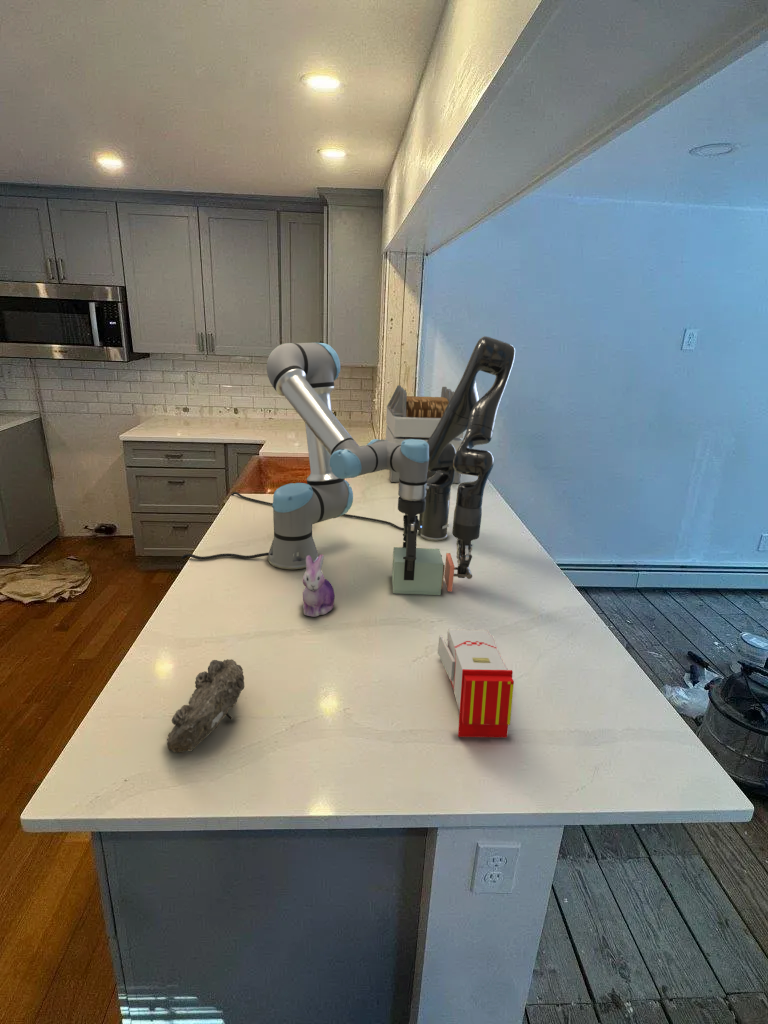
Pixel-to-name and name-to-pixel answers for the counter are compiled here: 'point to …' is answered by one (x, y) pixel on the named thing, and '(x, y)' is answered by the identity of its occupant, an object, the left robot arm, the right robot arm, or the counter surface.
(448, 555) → the drawer
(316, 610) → the figurine
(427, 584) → the cabinet
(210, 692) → the fossil
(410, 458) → the left robot arm
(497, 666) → the toy
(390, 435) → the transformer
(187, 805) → the counter surface
